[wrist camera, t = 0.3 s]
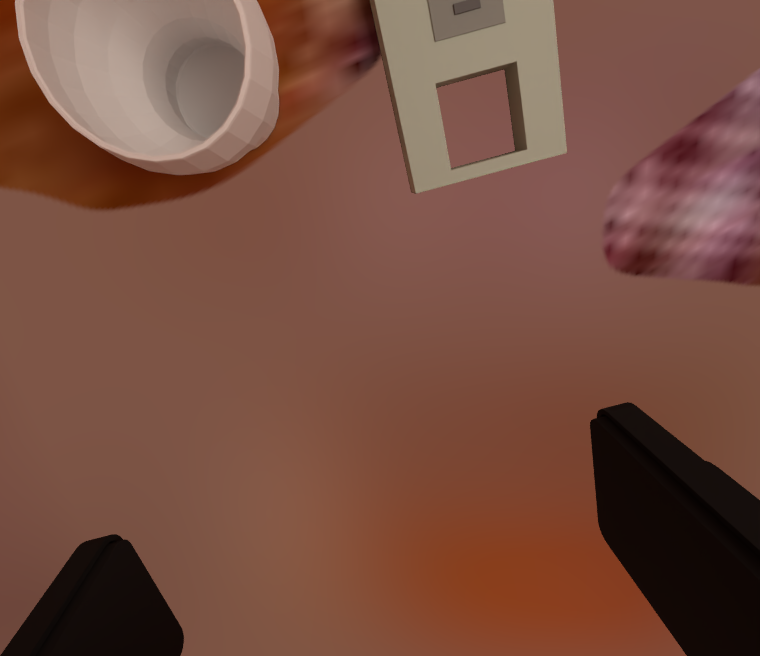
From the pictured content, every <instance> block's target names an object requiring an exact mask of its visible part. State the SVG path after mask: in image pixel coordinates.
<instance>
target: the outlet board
mask: <svg viewBox="0 0 760 656" xmlns="http://www.w3.org/2000/svg"><path fill="white" fill-rule="evenodd" d="M369 1H370V5H371V10H372V14H373V19H374V24H375V28H376V33H377V37H378V42H379V46H380V51H381V56H382V60H383V65H384V69H385V74H386V79H387V83H388V88H389V92H390V97H391V102H392V106H393V111H394V115H395V120H396V124H397V129H398V134H399V138H400V143H401V147H402V152H403V157H404V161H405V166H406V170H407V175H408V179H409V184H410V189H411V192H412V193H415V194H417V193H421V192H424V191H427V190H431V189H435V188H439V187H443V186H446V185H450V184H454V183H457V182H461V181H464V180H468V179H472V178H476V177H480V176H483V175H487V174H490V173H494V172H498V171H502V170H505V169H509V168H513V167H516V166H520V165H524V164H528V163H531V162H535V161H539V160H542V159H546V158H550V157H553V156H557V155H561V154H564V153H567V148H566V137H565V126H564V114H563V103H562V92H561V82H560V70H559V59H558V49H557V38H556V27H555V16H554V5H553V0H369ZM503 69H505V76H506V84H507V92H508V99H509V106H510V115H511V122H512V130H513V137H514V145H515V151H513V152H510V153H506V154H502V155H499V156H495V157H491V158H487V159H484V160H480V161H476V162H473V163H469V164H465V165H462V166H458V167H454V168H451V166H450V161H449V155H448V150H447V145H446V139H445V134H444V128H443V123H442V117H441V112H440V106H439V101H438V95H437V90H436V88H437V87H441V86H445V85H448V84H451V83H455V82H459V81H463V80H466V79H470V78H474V77H477V76H481V75H485V74H488V73H492V72H496V71H499V70H503Z"/></svg>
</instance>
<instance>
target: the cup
mask: <svg viewBox="0 0 760 656" xmlns="http://www.w3.org/2000/svg"><path fill="white" fill-rule="evenodd" d="M15 8H16V17H17V26H18V34H19V40H20V43H21V46H22V48H23V51H24V54H25V57H26V60H27V63H28V65H29V68H30V71H31V74H32V75H33V77H34V78H35V80H36V82H37V83H38V85H39V87H40V88H41V90H42V92H43V93H44V95H45V97H46V98H47V100H48V101H49V103H50V104H51V105H52V106H53V107H54V108H55V110H56V111H57V112H58V113H59V114H60V115H61V116H62V117H63V118H64V119H65V120H66V121H67V122H68V123H69V125H70V126H71V127H72V128H73V129H75V130H76V131H78V132H79V133H80V134H82V135H83V136H85V137H86V138H88V139H89V140H90V141H92V142H93V143H95V144H96V145H98V146H99V147H100V148H102V149H104V150H106V151H107V152H109V153H111V154H112V155H114V156H116V157H117V158H119V159H121V160H123V161H126V162H128V163H131V164H133V165H135V166H138V167H140V168H143V169H145V170H148V171H152V172H159V173H166V174H173V175H192V174H199V173H207V172H215V171H217V170H219V169H222V168H224V167H226V166H228V165H231V164H233V163H235V162H237V161H238V160H240V159H241V158H242V157H243V156H244V155H245V154H247V153H248V152H249V151H251V150H253V149H255V148H257V147H258V146H260V145H261V144H262V143H263V142H264V141H265V140H267V138H268V137H269V135H270V134H271V132H272V131H273V129H274V127H275V124H276V121H277V118H278V113H279V96H278V80H279V67H278V61H277V55H276V50H275V44H274V39H273V37H272V34H271V32H270V29H269V27H268V25H267V22H266V20H265V18H264V15H263V13H262V10H261V8H260V6H259V4H258V2H257V0H15Z"/></svg>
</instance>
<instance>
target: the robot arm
mask: <svg viewBox="0 0 760 656" xmlns="http://www.w3.org/2000/svg"><path fill="white" fill-rule="evenodd" d="M590 429H591V442H592V453H593V466H594V477H595V489H596V501H597V513H598V523H599V527H600V530H601V533H602V535H603V537H604V539H605V541H606V542H607V544H608V545H609V547H610V548H611V550H612V551H613V552H614V554H615V555H616V557H617V558H618V559H619V561H620V562H621V564H622V565H623V566H624V568H625V569H626V571H627V572H628V573H629V575H630V576H631V577H632V579H633V580H634V582H635V583H636V585H637V586H638V588H639V589H640V590H641V592H642V593H643V594H644V596H645V597H646V598H647V600H648V601H649V603H650V604H651V606H652V607H653V609H654V610H655V611H656V613H657V614H658V616H659V617H660V619H661V620H662V621H663V623H664V624H665V626H666V627H667V628H668V630H669V631H670V633H671V634H672V635H673V637H674V638H675V640H676V641H677V642H678V644H679V645H680V647H681V648H682V649H683V651H684V652H685V654H686V655H687V656H760V500H759V499H757V498H756V497H755V496H754V495H752V494H751V493H750V492H749V491H747V490H746V489H745V488H743V487H742V486H741V485H740V484H738V483H737V482H736V481H735V480H733V479H732V478H731V477H730V476H728V475H727V474H726V473H724V472H723V471H722V470H721V469H719V468H718V467H716V466H715V465H713V464H712V463H710V462H707V461H704V460H703V459H702V458H701V457H699V456H698V455H697V454H695V453H694V452H693V451H692V450H691V449H689V448H688V447H687V446H686V445H684V444H683V443H682V442H681V441H679V440H678V439H677V438H676V437H674V436H673V435H672V434H670V433H669V432H668V431H667V430H665V429H664V428H663V427H662V426H661V425H659V424H658V423H657V422H655V421H654V420H653V419H652V418H651V417H649V416H648V415H647V414H646V413H644V412H643V411H642V410H640V409H639V408H638V407H637V406H635V405H634V404H632V403H628V402H627V403H623V404H620V405H615V406H611V407H608V408H604V409H601V410H599V411H598V413H597V418H596V419H593V420H591V422H590ZM183 643H184V635H183V631H182V628H181V626H180V625H179V623H178V621H177V619H176V618H175V616H174V615H173V613H172V611H171V609H170V608H169V606H168V604H167V603H166V601H165V599H164V598H163V596H162V595H161V593H160V592H159V589H158V588H157V586H156V584H155V583H154V581H153V580H152V578H151V576H150V574H149V573H148V571H147V569H146V568H145V566H144V564H143V563H142V561H141V559H140V558H139V556H138V554H137V553H136V551H135V549H134V548H133V546H132V544H131V543H130V542H129V541H128V540H123V539H122V538H121V537H120V536H118V535H108V536H105V537H101V538H97V539H93V540H89V541H86V542H84V543H82V544H80V545H79V546H78V547H77V549H76V550H75V551H74V553H73V554H72V555H71V557H70V558H69V560H68V561H67V562H66V564H65V565H64V567H63V568H62V570H61V571H60V572H59V574H58V575H57V577H56V578H55V580H54V581H53V582H52V584H51V585H50V586H49V588H48V589H47V591H46V592H45V593H44V595H43V597H42V598H41V599H40V600H39V602H38V603H37V605H36V606H35V607H34V609H33V610H32V612H31V613H30V615H29V616H28V617H27V619H26V620H25V622H24V623H23V624H22V626H21V627H20V629H19V630H18V631H17V633H16V634H15V636H14V637H13V638H12V640H11V641H10V643H9V644H8V646H7V647H6V648H5V650H4V651H3V653H2V654H1V655H0V656H180V655H181V652H182V649H183Z"/></svg>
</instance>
